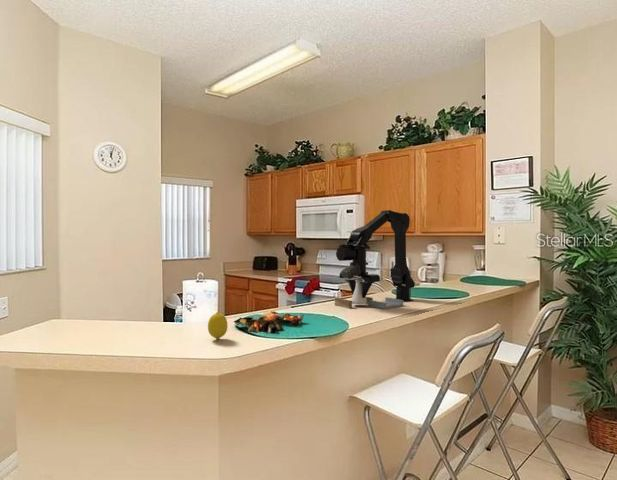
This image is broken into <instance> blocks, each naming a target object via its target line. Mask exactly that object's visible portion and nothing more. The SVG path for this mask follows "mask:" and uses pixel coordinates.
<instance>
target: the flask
mask: <svg viewBox="0 0 617 480" xmlns="http://www.w3.org/2000/svg"><path fill="white" fill-rule="evenodd" d="M355 279H356V280H355V281H356V287H355V291H354V294H352V296H351V298H350V301H352V305H367V304H366V303H368V302H367V299H366V297H367V296H366V297H365V298H363V297H362V285H361V283H360V282H363V279H358V278H355Z"/></svg>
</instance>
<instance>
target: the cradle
mask: <svg viewBox="0 0 617 480" xmlns="http://www.w3.org/2000/svg"><path fill="white" fill-rule="evenodd" d="M367 306H368V307H372V308H376V309H382V310H388V309H393V308H400V307H404V301H403V300H400V299H394V298H393V297H389V296H387V297H386V296H385V299H384V300H383V301H378V300H368V305H367Z"/></svg>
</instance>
